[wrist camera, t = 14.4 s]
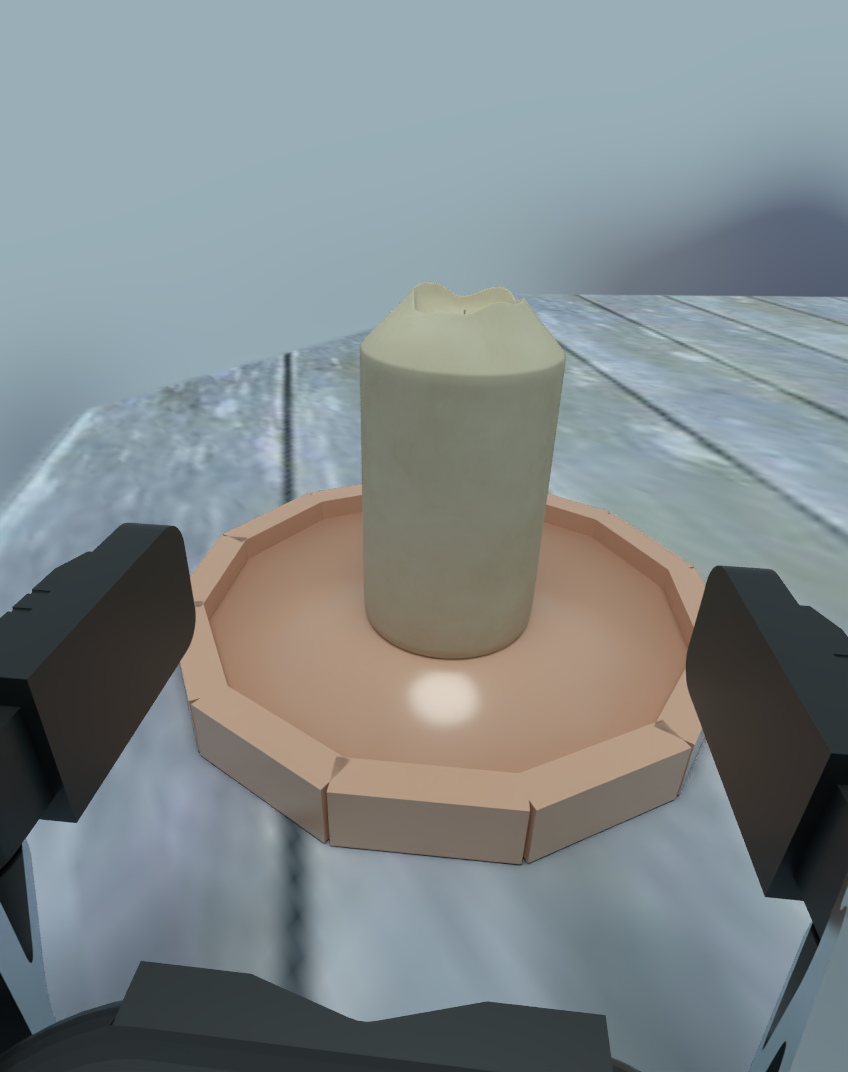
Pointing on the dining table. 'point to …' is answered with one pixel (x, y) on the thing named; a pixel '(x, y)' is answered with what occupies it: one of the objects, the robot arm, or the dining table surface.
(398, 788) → the saucer
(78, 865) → the dining table surface
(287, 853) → the dining table surface
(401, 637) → the candle
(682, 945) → the dining table surface
